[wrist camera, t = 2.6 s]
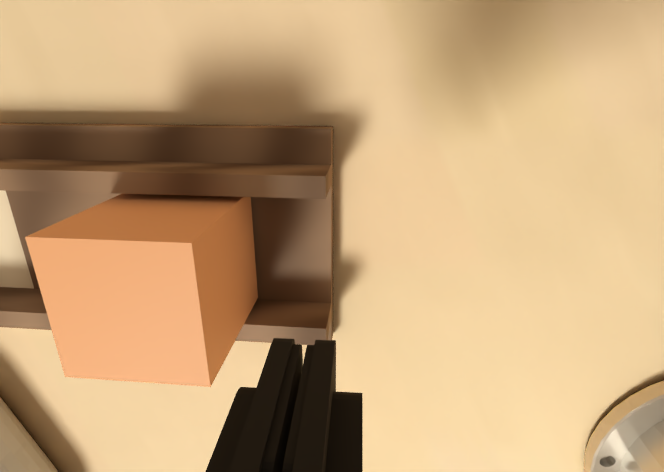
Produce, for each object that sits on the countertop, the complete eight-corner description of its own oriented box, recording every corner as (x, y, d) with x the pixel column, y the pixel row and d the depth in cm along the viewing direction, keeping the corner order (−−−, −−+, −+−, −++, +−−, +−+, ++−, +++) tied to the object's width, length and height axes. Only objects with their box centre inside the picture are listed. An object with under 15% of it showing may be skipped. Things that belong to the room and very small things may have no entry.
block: (250, 190, 20) (191, 243, 14) (258, 297, 22) (210, 386, 16) (134, 188, 21) (24, 236, 14) (153, 292, 23) (65, 376, 16)
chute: (333, 126, 20) (325, 135, 17) (332, 334, 24) (326, 373, 21) (-125, 121, 22) (-210, 128, 19) (-51, 312, 26) (-110, 345, 23)
